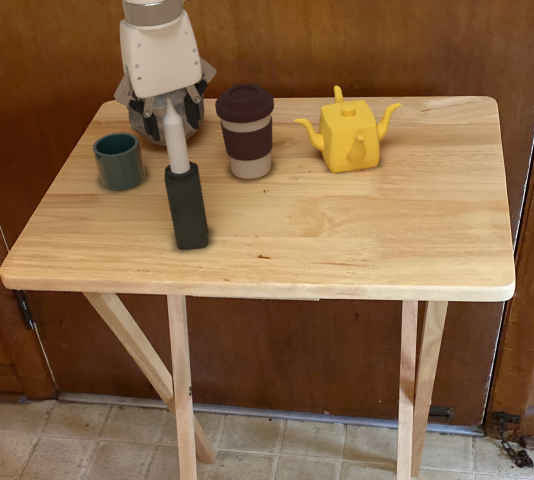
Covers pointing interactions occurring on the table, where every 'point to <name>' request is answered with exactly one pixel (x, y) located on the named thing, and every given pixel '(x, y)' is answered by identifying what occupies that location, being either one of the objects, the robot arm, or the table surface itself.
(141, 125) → the bowl
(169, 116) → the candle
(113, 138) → the cup
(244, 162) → the coffee cup
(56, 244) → the table surface
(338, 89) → the teapot
